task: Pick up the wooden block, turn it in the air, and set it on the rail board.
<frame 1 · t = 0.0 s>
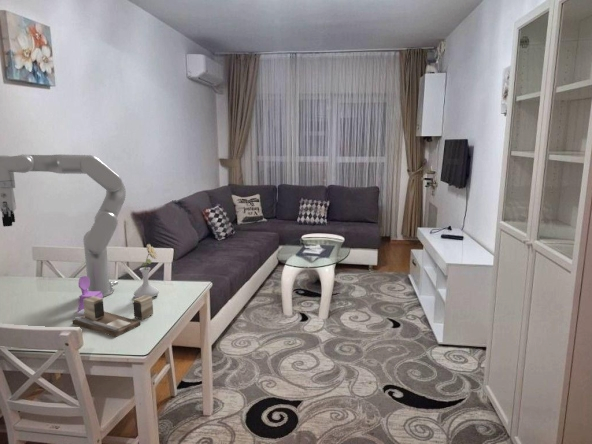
hand: (9, 224, 178), 37 cm above the table, tool pointing down, fingers open, 9 cm apart
rail board: (106, 324, 166), on the table
wooden block: (144, 316, 175), on the table
flower in vase: (147, 296, 198), on the table
toy chair: (91, 310, 181), on the table
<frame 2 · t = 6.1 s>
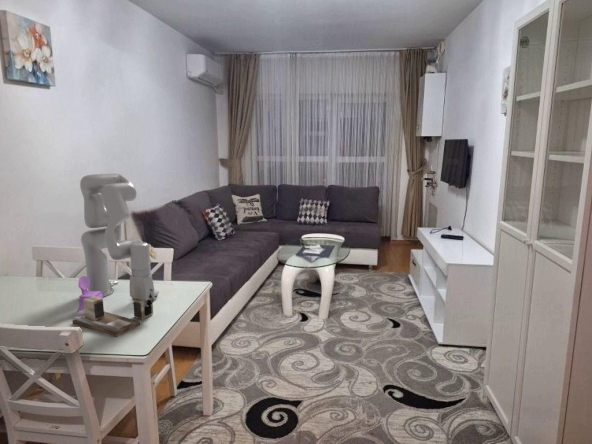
hand: (143, 312, 174), 1 cm above the table, tool pointing down, fingers closed on wooden block, 4 cm apart
wooden block: (144, 316, 174), on the table, touching gripper
everything else where it was.
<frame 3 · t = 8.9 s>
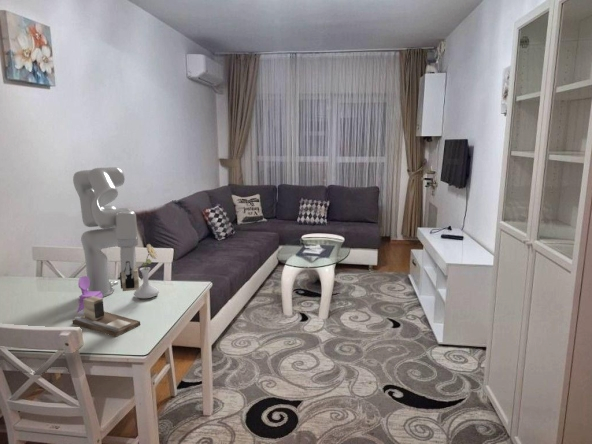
hand: (130, 285, 167), 15 cm above the table, tool pointing down, fingers closed on wooden block, 4 cm apart
wooden block: (131, 288, 167), point 14 cm above the table, touching gripper
everything else where it was.
when the fingers open (4 cm above the table, at t = 11.6 s): wooden block stays where it is, resting on rail board.
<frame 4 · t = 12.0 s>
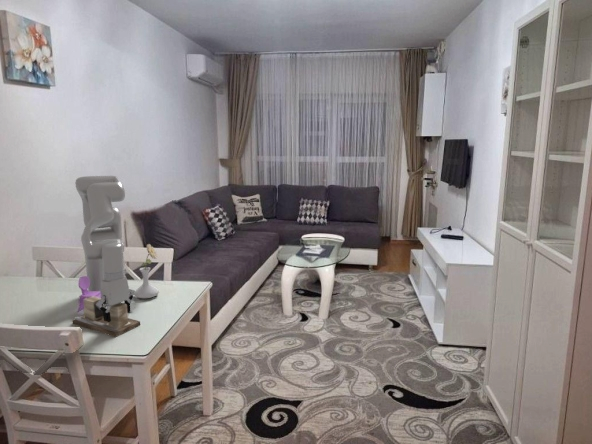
hand: (117, 316, 162), 5 cm above the table, tool pointing down, fingers open, 9 cm apart
wooden block: (118, 323, 163), point 2 cm above the table, touching rail board
everything else where it was.
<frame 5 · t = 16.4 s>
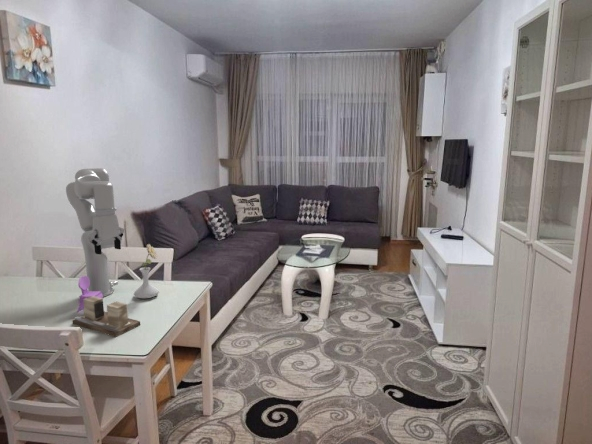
hand: (108, 251, 177), 26 cm above the table, tool pointing down, fingers open, 9 cm apart
nothing on the table moved.
at the end: wooden block 0.1 cm from the target spot on the rail board, point 1.7 cm above the rail board's base; wooden block tilted 0°; the gripper is holding nothing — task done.
